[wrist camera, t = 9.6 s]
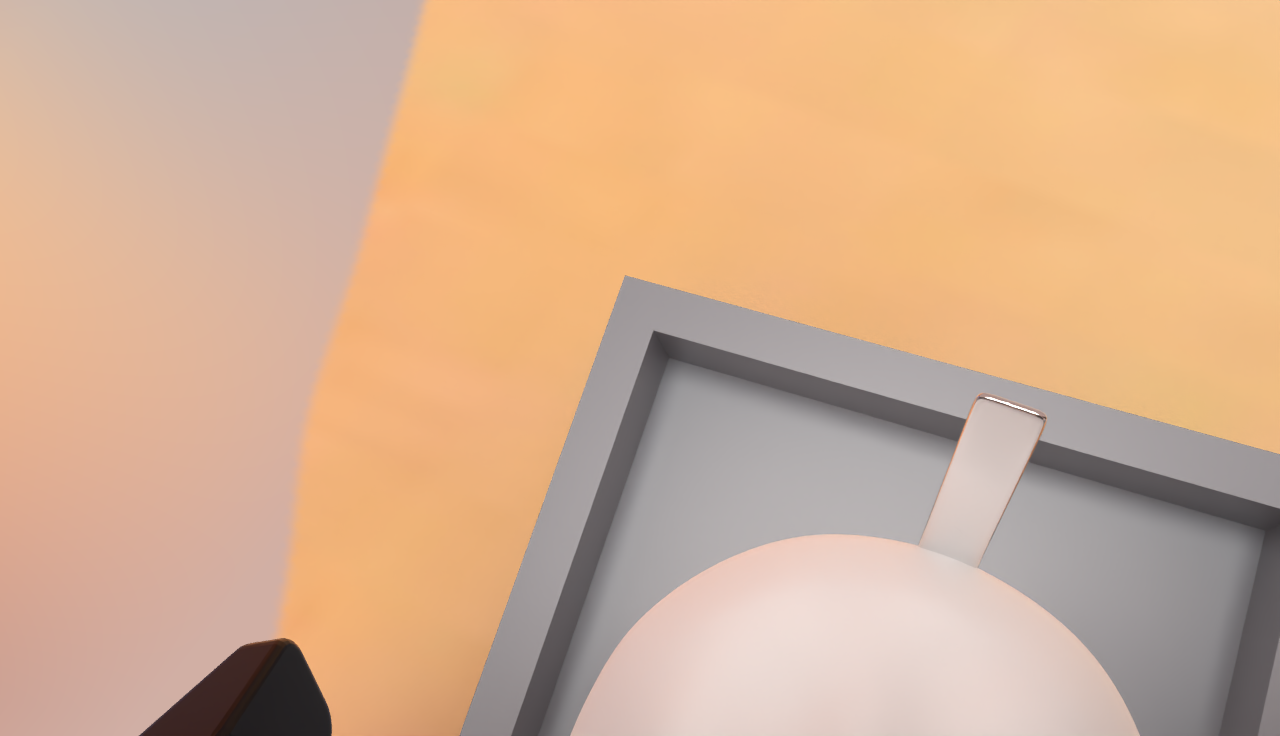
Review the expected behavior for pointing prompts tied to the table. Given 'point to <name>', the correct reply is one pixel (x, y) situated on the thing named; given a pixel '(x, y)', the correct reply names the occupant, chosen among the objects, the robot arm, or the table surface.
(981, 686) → the milkshake
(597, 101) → the table surface
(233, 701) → the robot arm
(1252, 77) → the table surface
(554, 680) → the tray
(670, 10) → the table surface
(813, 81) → the table surface
